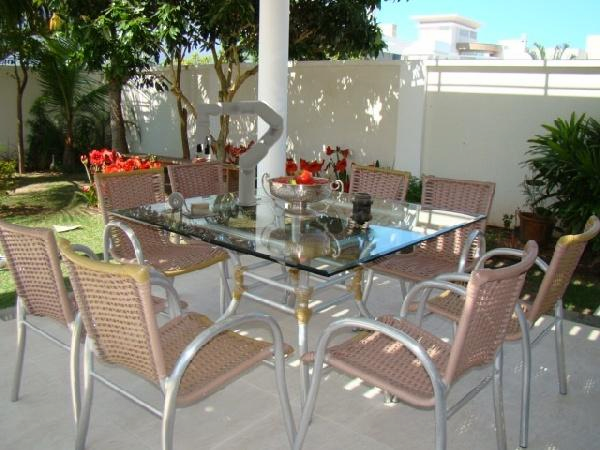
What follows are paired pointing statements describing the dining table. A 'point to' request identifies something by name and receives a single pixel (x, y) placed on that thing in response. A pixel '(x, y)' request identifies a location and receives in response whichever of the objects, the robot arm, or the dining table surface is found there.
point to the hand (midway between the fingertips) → (203, 153)
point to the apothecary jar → (361, 208)
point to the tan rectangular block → (199, 208)
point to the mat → (199, 215)
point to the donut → (172, 202)
